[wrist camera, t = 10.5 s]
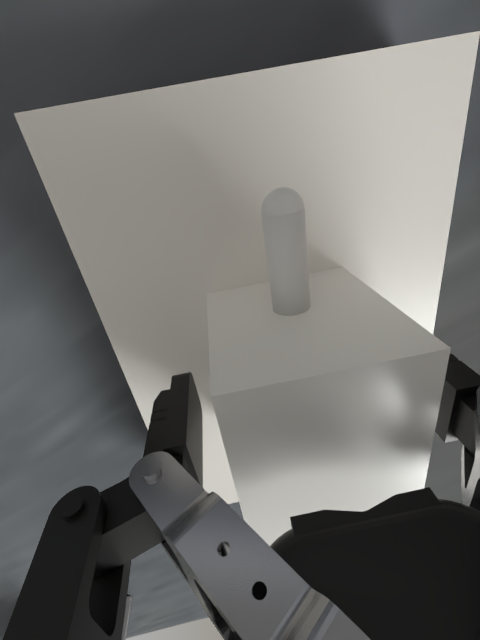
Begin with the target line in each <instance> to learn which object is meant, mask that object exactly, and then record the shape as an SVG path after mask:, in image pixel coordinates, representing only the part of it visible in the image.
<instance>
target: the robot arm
mask: <svg viewBox="0 0 480 640" xmlns="http://www.w3.org/2000/svg"><path fill="white" fill-rule="evenodd" d="M435 432H436V433H437V434H438V435H439V436H440V437H441V439H442V440H443V441H444V442H450V441H455V440H460V441H461V443H462V444H463V446H462V450H461V467H462V500H461V503H457V502H453V501H449V500H443V499H437V497H436V496H435V495H434V493H433V492H432V490H431V489H430V487H428V488H424V489H419V490H414V491H410V492H405V493H400V494H396V495H394V496H392V497H390V498H388V499H387V500H385V501H383V502H381V503H379V504H378V505H376V506H374V507H372V508H371V509H369V510H367V511H363V512H359V511H341V510H320V511H316V512H311V513H306V514H301V515H297V516H292V517H290V520H291V527H292V529H290V530H289V531H287V532H285V533H284V534H282V535H281V536H280V537H278V538H277V539H276V540H275V541H274V542H273V543H272V544H271V546H269V545H268V544H267V543H266V542H265V541H264V540H263V539H262V538H261V537H260V536H259V535H258V534H257V533H256V532H255V531H254V530H253V529H252V528H251V527H250V526H249V525H248V524H247V523H246V522H245V521H244V520H243V519H242V518H241V517H240V516H239V515H238V514H237V513H236V512H235V511H234V510H233V509H232V508H231V507H230V506H229V505H228V504H227V503H226V502H225V501H224V500H223V499H222V498H221V497H220V496H219V495H218V494H217V493H215V492H211V493H210V494H209V493H208V492H206V491H205V490H204V489H203V425H202V408H201V403H200V399H199V395H198V392H197V389H196V385H195V382H194V378H193V375H192V373H191V372H188V373H183V374H178V375H173V376H172V379H171V387H170V389H168V390H163V391H161V392H160V393H159V395H158V396H157V398H156V399H155V400H154V404H153V409H152V414H151V419H150V424H149V429H148V434H147V440H146V445H145V450H144V455H143V458H141V459H140V460H139V461H138V462H137V463H136V464H135V465H134V467H133V468H132V470H131V472H130V475H129V477H128V478H126V479H125V480H123V481H122V482H120V483H118V484H116V485H114V486H112V487H110V488H108V489H106V490H104V491H102V492H100V493H99V491H98V490H97V489H96V488H95V487H93V486H82V487H79V488H76V489H74V490H72V491H70V492H69V493H67V494H66V495H65V496H63V497H62V498H61V499H60V500H59V501H58V502H57V503H56V505H55V506H54V507H53V509H52V511H51V512H50V515H49V517H48V520H47V522H46V525H45V528H44V530H43V533H42V536H41V539H40V541H39V544H38V547H37V549H36V552H35V555H34V557H33V560H32V563H31V565H30V568H29V571H28V573H27V576H26V579H25V581H24V584H23V587H22V590H21V592H20V595H19V598H18V600H17V603H16V606H15V608H14V611H13V614H12V616H11V619H10V622H9V624H8V627H7V630H6V632H5V635H4V638H3V640H121V639H122V631H123V623H124V615H125V607H126V599H127V590H128V582H129V574H130V566H131V560H132V559H133V558H135V557H137V556H138V555H140V554H142V553H144V552H145V551H147V550H149V549H150V548H152V547H154V546H155V545H157V544H159V543H160V544H161V545H162V546H163V548H164V549H165V551H166V552H167V554H168V555H169V557H170V558H171V560H172V561H173V563H174V564H175V566H176V567H177V569H178V570H179V571H180V573H181V574H182V576H183V577H184V579H185V580H186V582H187V583H188V585H189V586H190V588H191V589H192V591H193V592H194V594H195V596H196V597H197V599H198V601H199V602H200V604H201V606H202V607H203V609H204V610H205V612H206V613H207V615H208V617H209V618H210V619H211V621H212V622H213V624H214V625H215V627H216V628H217V630H218V631H219V633H220V634H221V636H222V637H223V638H224V640H480V375H478V374H477V373H476V372H474V371H473V370H472V369H471V368H469V367H468V366H467V365H465V364H464V363H463V362H461V361H459V360H458V358H456V357H455V356H454V355H452V354H450V355H449V360H448V366H447V371H446V376H445V381H444V387H443V392H442V397H441V402H440V407H439V413H438V418H437V423H436V428H435Z"/></svg>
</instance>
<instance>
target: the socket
mask: <svg viewBox="0 0 480 640" xmlns="http://www.w3.org/2000/svg"><path fill="white" fill-rule="evenodd" d="M479 35H480V31H477V32H471V33H466V34H460V35H454V36H449V37H443V38H437V39H432V40H426V41H420V42H415V43H409V44H403V45H398V46H392V47H386V48H381V49H375V50H369V51H364V52H358V53H352V54H347V55H341V56H335V57H330V58H324V59H318V60H313V61H307V62H301V63H296V64H290V65H284V66H279V67H273V68H267V69H262V70H256V71H251V72H245V73H239V74H234V75H228V76H222V77H217V78H211V79H205V80H200V81H194V82H188V83H183V84H177V85H171V86H166V87H160V88H154V89H149V90H143V91H137V92H132V93H126V94H120V95H115V96H109V97H103V98H98V99H92V100H86V101H81V102H75V103H69V104H64V105H58V106H52V107H47V108H41V109H35V110H30V111H24V112H19V113H14V115H15V118H16V120H17V122H18V125H19V127H20V130H21V132H22V134H23V137H24V139H25V141H26V144H27V146H28V148H29V151H30V153H31V156H32V158H33V160H34V163H35V165H36V167H37V170H38V172H39V174H40V177H41V179H42V181H43V184H44V186H45V189H46V191H47V193H48V196H49V198H50V200H51V203H52V205H53V207H54V210H55V212H56V215H57V217H58V219H59V222H60V224H61V226H62V229H63V231H64V233H65V236H66V238H67V240H68V243H69V245H70V248H71V250H72V252H73V255H74V257H75V259H76V262H77V264H78V266H79V269H80V271H81V274H82V276H83V278H84V281H85V283H86V285H87V288H88V290H89V292H90V295H91V297H92V300H93V302H94V304H95V307H96V309H97V311H98V314H99V316H100V318H101V321H102V323H103V325H104V328H105V330H106V333H107V335H108V337H109V340H110V342H111V344H112V347H113V349H114V351H115V354H116V356H117V359H118V361H119V363H120V366H121V368H122V370H123V373H124V375H125V377H126V380H127V382H128V384H129V387H130V389H131V392H132V394H133V396H134V399H135V401H136V403H137V406H138V408H139V410H140V413H141V415H142V418H143V420H144V422H145V425H146V427H147V429H149V424H150V419H151V414H152V409H153V404H154V400H155V399H156V398H157V396H158V395H159V393H160V392H161V391H163V390H168V389H170V387H171V379H172V376H173V375H178V374H183V373H188V372H191V373H192V375H193V378H194V382H195V385H196V389H197V392H198V395H199V399H200V403H201V408H202V425H203V489H204V490H205V491H206V492H208V493H209V494H210V493H211V492H215V493H217V494H218V495H219V496H220V497H221V498H222V499H223V500H224V501H225V502H226V503H227V504H231V503H235V502H239V499H238V495H237V492H236V488H235V484H234V481H233V477H232V473H231V470H230V466H229V462H228V458H227V455H226V451H225V447H224V444H223V440H222V436H221V433H220V429H219V425H218V421H217V418H216V414H215V410H214V407H213V403H212V399H211V389H210V365H209V341H208V317H207V293H212V292H217V291H222V290H228V289H233V288H238V287H243V286H248V285H253V284H259V283H264V282H269V273H268V265H267V257H266V249H265V241H264V233H263V225H262V217H261V207H262V203H263V201H264V199H265V197H266V196H267V195H268V194H269V193H270V192H271V191H272V190H274V189H276V188H281V187H287V188H291V189H293V190H295V191H296V192H298V193H299V195H300V196H301V197H302V199H303V202H304V207H305V221H306V237H307V254H308V271H309V274H310V273H315V272H320V271H325V270H331V269H336V268H341V267H344V268H345V269H346V270H348V271H349V272H350V273H352V274H353V275H354V276H356V277H357V278H358V279H360V280H361V281H362V282H364V283H365V284H366V285H368V286H369V287H370V288H372V289H373V290H374V291H376V292H377V293H378V294H380V295H381V296H382V297H384V298H385V299H386V300H388V301H389V302H390V303H392V304H393V305H394V306H395V307H397V308H398V309H399V310H401V311H402V312H403V313H405V314H406V315H407V316H409V317H410V318H411V319H413V320H414V321H415V322H417V323H418V324H419V325H421V326H422V327H423V328H425V329H426V330H427V331H429V332H430V333H431V334H433V331H434V325H435V318H436V312H437V306H438V299H439V293H440V286H441V280H442V273H443V267H444V261H445V254H446V248H447V241H448V235H449V228H450V222H451V216H452V209H453V203H454V196H455V190H456V183H457V177H458V171H459V164H460V158H461V151H462V145H463V138H464V132H465V126H466V119H467V113H468V106H469V100H470V93H471V87H472V80H473V74H474V68H475V61H476V55H477V48H478V42H479Z"/></svg>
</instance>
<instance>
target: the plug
mask: <svg viewBox="0 0 480 640" xmlns="http://www.w3.org/2000/svg"><path fill="white" fill-rule="evenodd" d="M261 217H262V225H263V233H264V241H265V249H266V257H267V265H268V273H269V282H264V283H259V284H253V285H248V286H243V287H238V288H233V289H228V290H222V291H217V292H212V293H207V317H208V341H209V365H210V389H211V399H212V403H213V407H214V410H215V414H216V418H217V421H218V425H219V429H220V433H221V436H222V440H223V444H224V447H225V451H226V455H227V458H228V462H229V466H230V470H231V473H232V477H233V481H234V484H235V488H236V492H237V495H238V499H239V503H240V507H241V510H242V514H243V518H244V521H245V522H246V523H247V524H248V525H249V526H250V527H251V528H252V529H253V530H254V531H255V532H256V533H257V534H258V535H259V536H260V537H261V538H262V539H263V540H264V541H265V542H266V543H267V544H268V545H269V546H271V544H272V543H273V542H274V541H275V540H276V539H277V538H278V537H280V536H281V535H282V534H284V533H285V532H287V531H289V530H290V529H292V527H291V520H290V517H292V516H297V515H301V514H306V513H311V512H316V511H320V510H341V511H359V512H363V511H367V510H369V509H371V508H372V507H374V506H376V505H378V504H379V503H381V502H383V501H385V500H387V499H388V498H390V497H392V496H394V495H396V494H400V493H405V492H410V491H414V490H419V489H424V486H425V481H426V476H427V470H428V465H429V460H430V455H431V449H432V444H433V439H434V434H435V428H436V423H437V418H438V413H439V407H440V402H441V397H442V392H443V387H444V381H445V376H446V371H447V366H448V360H449V355H450V350H451V348H450V347H449V346H447V345H446V344H445V343H443V342H442V341H441V340H439V339H438V338H437V337H435V336H434V335H433V334H431V333H430V332H429V331H427V330H426V329H425V328H423V327H422V326H421V325H419V324H418V323H417V322H415V321H414V320H413V319H411V318H410V317H409V316H407V315H406V314H405V313H403V312H402V311H401V310H399V309H398V308H397V307H395V306H394V305H393V304H392V303H390V302H389V301H388V300H386V299H385V298H384V297H382V296H381V295H380V294H378V293H377V292H376V291H374V290H373V289H372V288H370V287H369V286H368V285H366V284H365V283H364V282H362V281H361V280H360V279H358V278H357V277H356V276H354V275H353V274H352V273H350V272H349V271H348V270H346V269H345V268H344V267H341V268H336V269H331V270H325V271H320V272H315V273H310V274H309V271H308V254H307V237H306V221H305V207H304V202H303V199H302V197H301V196H300V195H299V193H298V192H296V191H295V190H293V189H291V188H287V187H281V188H276V189H274V190H272V191H271V192H270V193H269V194H268V195H267V196H266V197H265V199H264V201H263V203H262V207H261Z"/></svg>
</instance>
